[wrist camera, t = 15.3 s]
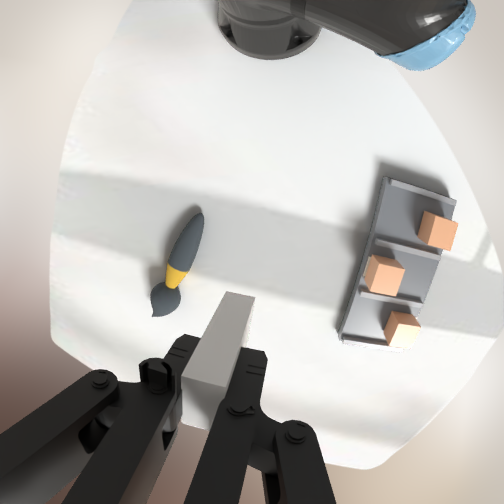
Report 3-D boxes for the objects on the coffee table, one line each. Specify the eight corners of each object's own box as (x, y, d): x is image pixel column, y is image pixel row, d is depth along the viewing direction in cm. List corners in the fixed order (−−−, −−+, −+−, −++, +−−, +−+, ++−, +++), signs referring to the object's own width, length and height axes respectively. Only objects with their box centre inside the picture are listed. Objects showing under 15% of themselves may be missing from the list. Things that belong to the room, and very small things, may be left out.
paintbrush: (182, 203, 44) (169, 208, 39) (211, 214, 44) (201, 221, 39) (153, 306, 51) (140, 320, 46) (177, 318, 51) (167, 333, 46)
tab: (424, 210, 37) (435, 215, 33) (445, 217, 36) (458, 223, 32) (417, 237, 38) (427, 244, 34) (438, 243, 37) (450, 251, 34)
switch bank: (383, 176, 38) (389, 177, 36) (450, 198, 37) (459, 201, 34) (337, 333, 47) (339, 343, 44) (399, 343, 46) (404, 353, 43)
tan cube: (391, 310, 42) (398, 323, 38) (412, 314, 41) (421, 327, 38) (383, 332, 43) (388, 346, 39) (403, 335, 43) (410, 348, 39)
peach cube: (372, 254, 40) (379, 263, 36) (396, 259, 39) (405, 269, 36) (364, 279, 41) (369, 291, 37) (388, 284, 41) (395, 296, 37)
